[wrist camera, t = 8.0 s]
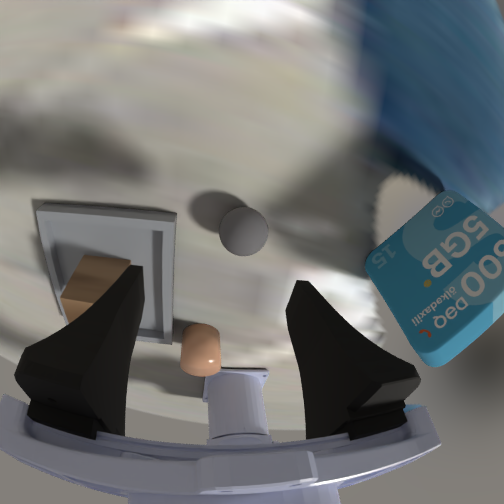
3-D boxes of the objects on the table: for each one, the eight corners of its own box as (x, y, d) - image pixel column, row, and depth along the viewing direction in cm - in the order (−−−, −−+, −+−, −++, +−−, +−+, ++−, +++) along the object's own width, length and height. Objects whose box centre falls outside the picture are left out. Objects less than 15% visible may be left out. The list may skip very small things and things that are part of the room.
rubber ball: (259, 242, 23) (265, 268, 20) (216, 237, 22) (216, 263, 19) (268, 202, 21) (277, 224, 18) (222, 196, 20) (223, 218, 17)
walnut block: (134, 299, 24) (122, 345, 20) (91, 293, 23) (73, 336, 19) (131, 260, 22) (113, 306, 17) (84, 254, 21) (59, 297, 16)
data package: (446, 184, 21) (534, 253, 11) (456, 214, 23) (530, 284, 14) (358, 260, 25) (419, 361, 15) (376, 283, 27) (430, 375, 17)
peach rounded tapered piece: (217, 347, 30) (219, 377, 27) (182, 345, 29) (180, 374, 26) (221, 324, 28) (223, 356, 25) (182, 321, 27) (180, 353, 24)
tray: (173, 333, 28) (172, 344, 27) (71, 318, 26) (67, 328, 24) (176, 213, 20) (174, 222, 19) (44, 202, 18) (35, 210, 17)
